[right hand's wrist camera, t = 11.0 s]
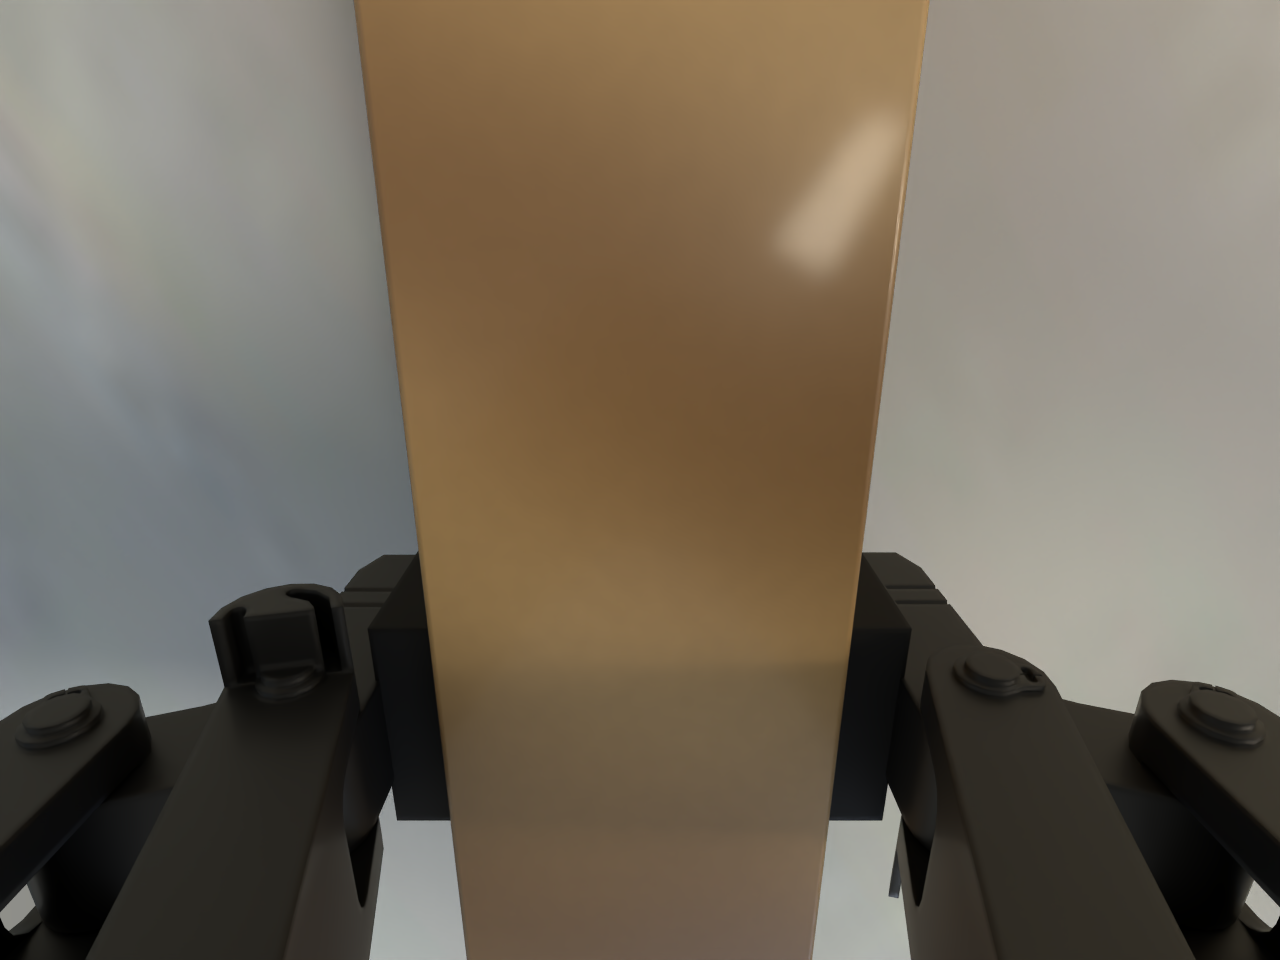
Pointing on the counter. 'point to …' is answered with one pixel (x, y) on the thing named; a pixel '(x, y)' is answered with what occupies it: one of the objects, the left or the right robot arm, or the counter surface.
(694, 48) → the post
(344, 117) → the counter surface
